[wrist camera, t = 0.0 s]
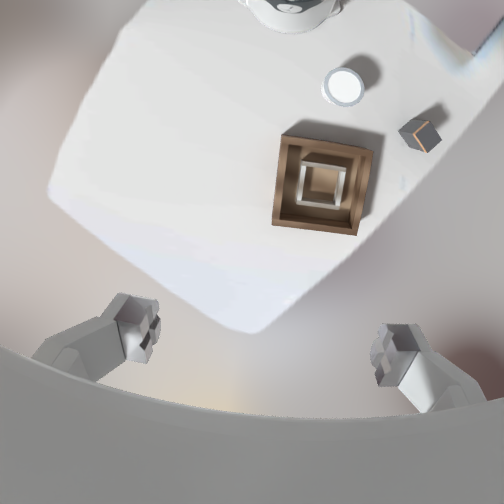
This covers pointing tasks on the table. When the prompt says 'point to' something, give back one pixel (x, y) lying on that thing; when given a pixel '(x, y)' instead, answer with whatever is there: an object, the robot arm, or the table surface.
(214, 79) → the table surface
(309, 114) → the table surface
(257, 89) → the table surface
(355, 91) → the white cup
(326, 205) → the walnut box
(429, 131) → the dark grey banded block
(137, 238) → the table surface
